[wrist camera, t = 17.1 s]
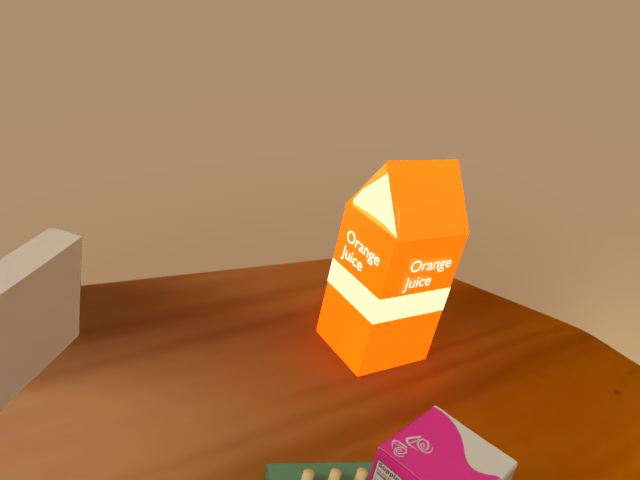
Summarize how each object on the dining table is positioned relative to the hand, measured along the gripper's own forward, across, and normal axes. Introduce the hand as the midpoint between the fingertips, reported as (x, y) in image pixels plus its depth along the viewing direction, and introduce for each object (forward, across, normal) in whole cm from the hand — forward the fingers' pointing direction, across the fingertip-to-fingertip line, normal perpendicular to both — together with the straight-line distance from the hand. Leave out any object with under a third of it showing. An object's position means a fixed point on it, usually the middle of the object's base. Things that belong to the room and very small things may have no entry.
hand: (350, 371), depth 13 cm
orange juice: (+41, +1, -28) cm, 49 cm away
